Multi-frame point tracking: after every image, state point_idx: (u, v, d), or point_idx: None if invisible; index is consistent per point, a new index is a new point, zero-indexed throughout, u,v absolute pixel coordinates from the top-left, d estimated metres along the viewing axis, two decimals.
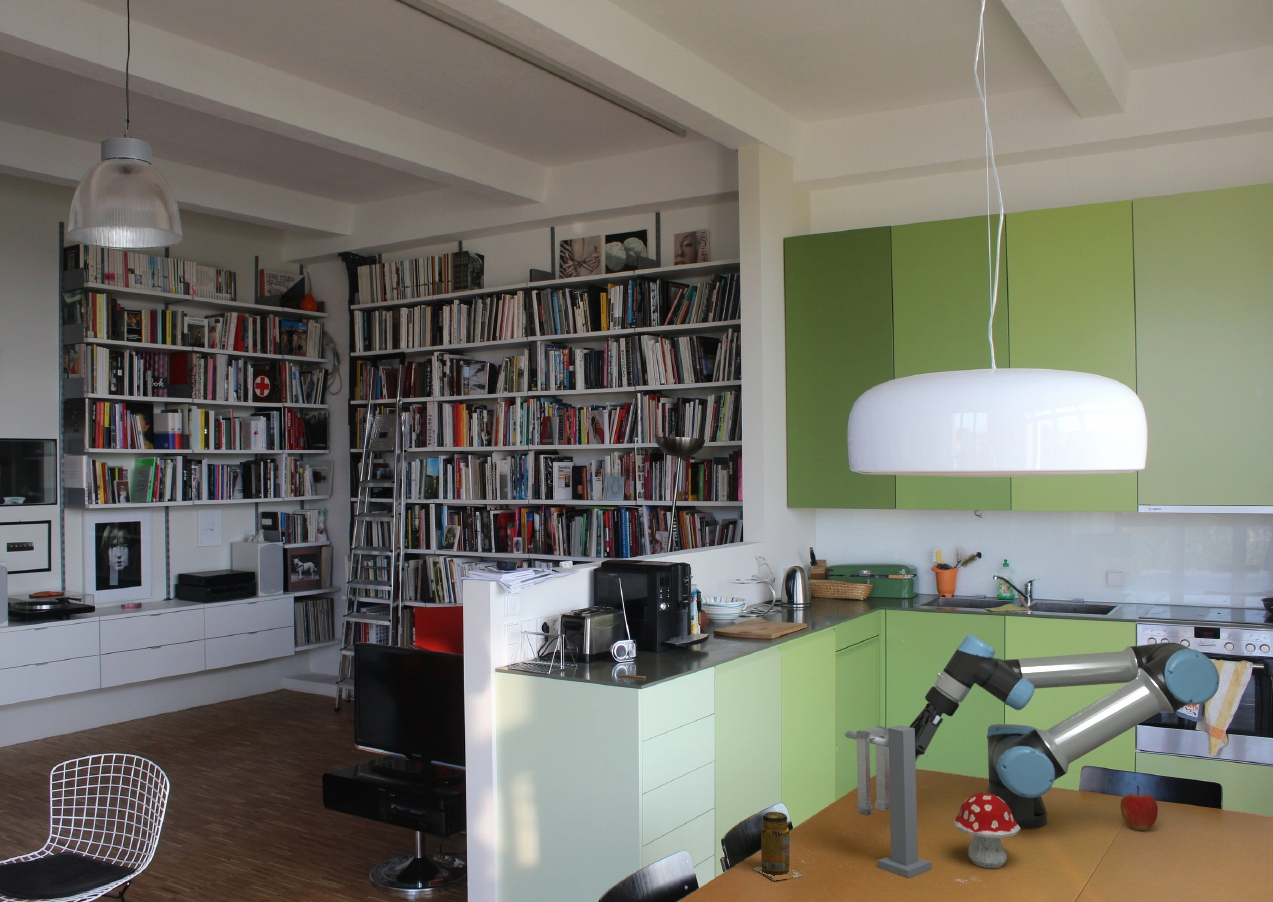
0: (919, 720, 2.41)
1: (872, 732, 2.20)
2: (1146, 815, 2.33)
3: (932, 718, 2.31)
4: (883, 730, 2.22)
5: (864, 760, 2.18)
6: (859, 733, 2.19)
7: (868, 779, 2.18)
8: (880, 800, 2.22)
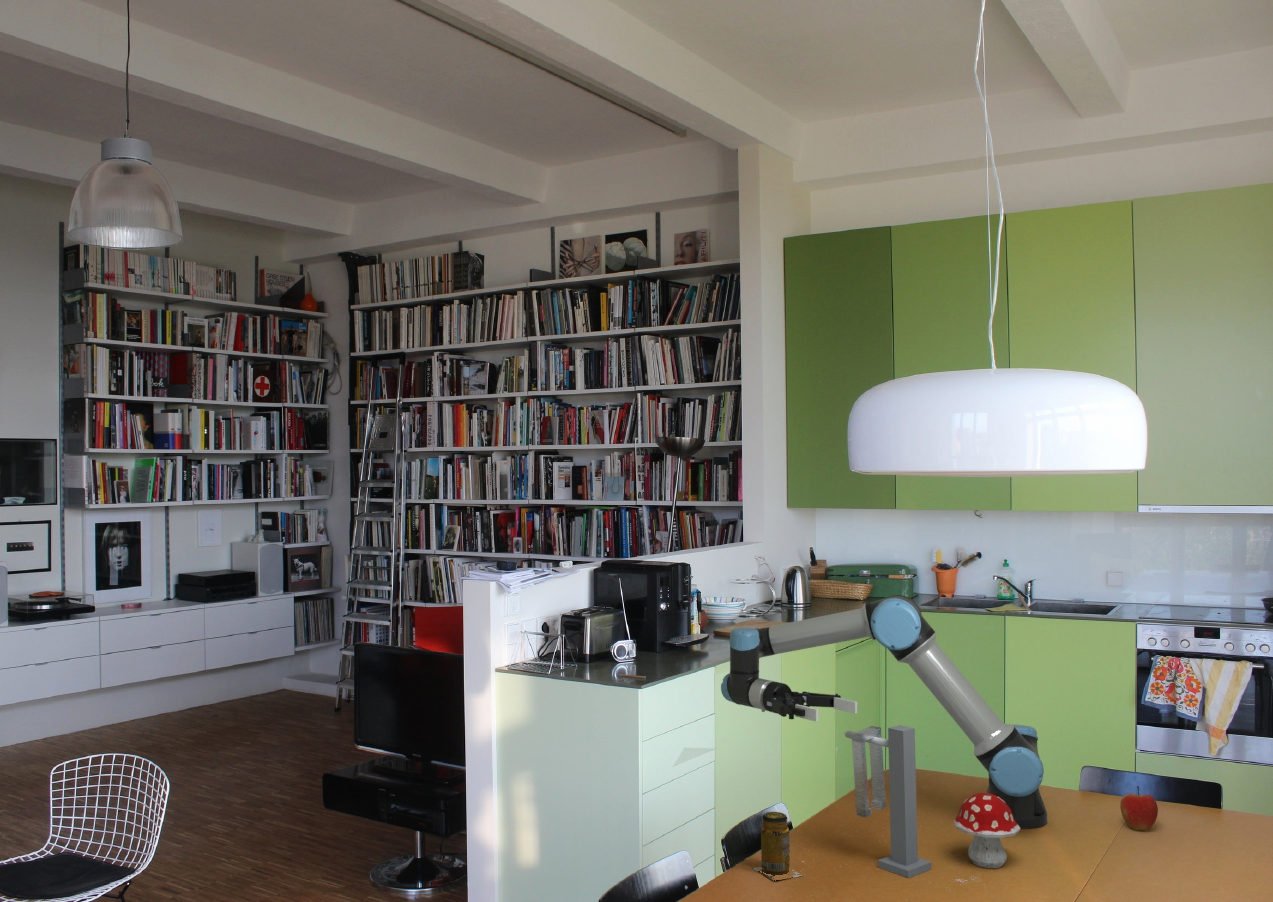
0: (807, 706, 2.41)
1: (867, 734, 2.19)
2: (1146, 815, 2.33)
3: (769, 707, 2.38)
4: (877, 730, 2.21)
5: (861, 763, 2.17)
6: (854, 736, 2.18)
7: (865, 781, 2.18)
8: (876, 799, 2.22)
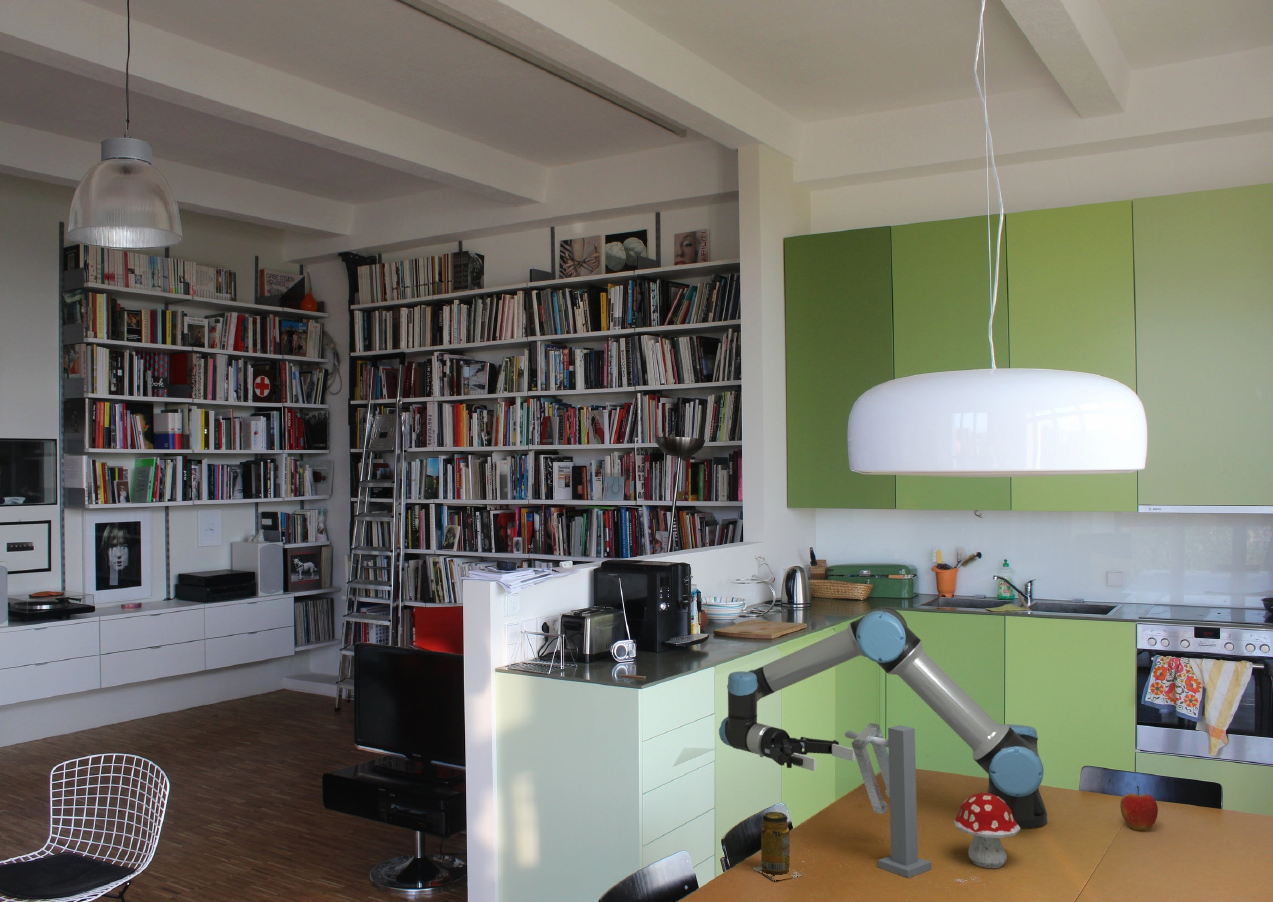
0: (805, 752, 2.41)
1: (866, 738, 2.19)
2: (1146, 815, 2.33)
3: (767, 754, 2.37)
4: (875, 729, 2.21)
5: (866, 768, 2.18)
6: (855, 744, 2.18)
7: (875, 782, 2.19)
8: None
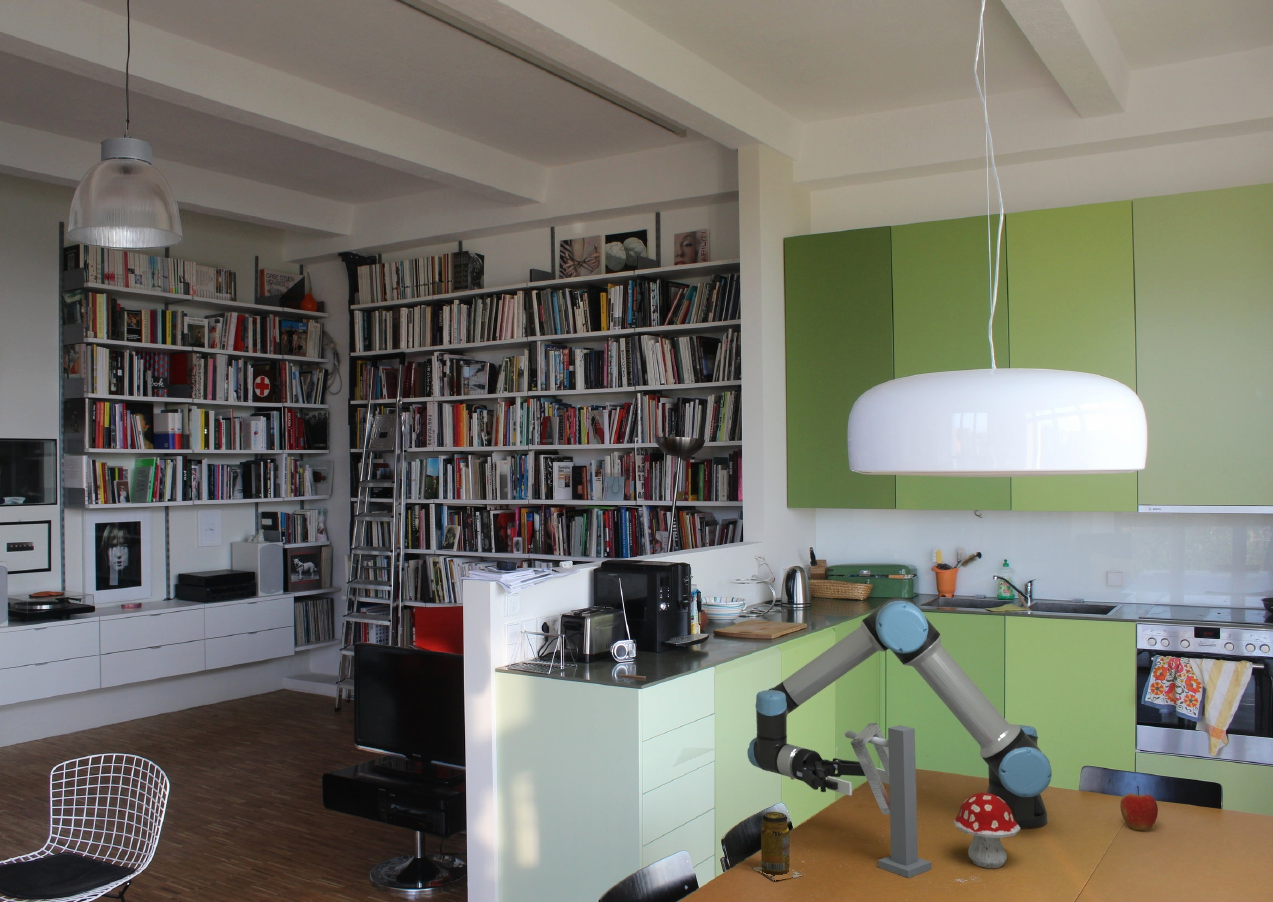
0: (838, 775, 2.32)
1: (865, 736, 2.19)
2: (1146, 815, 2.33)
3: (799, 778, 2.29)
4: (874, 728, 2.21)
5: (868, 766, 2.18)
6: (854, 743, 2.18)
7: (879, 781, 2.18)
8: None
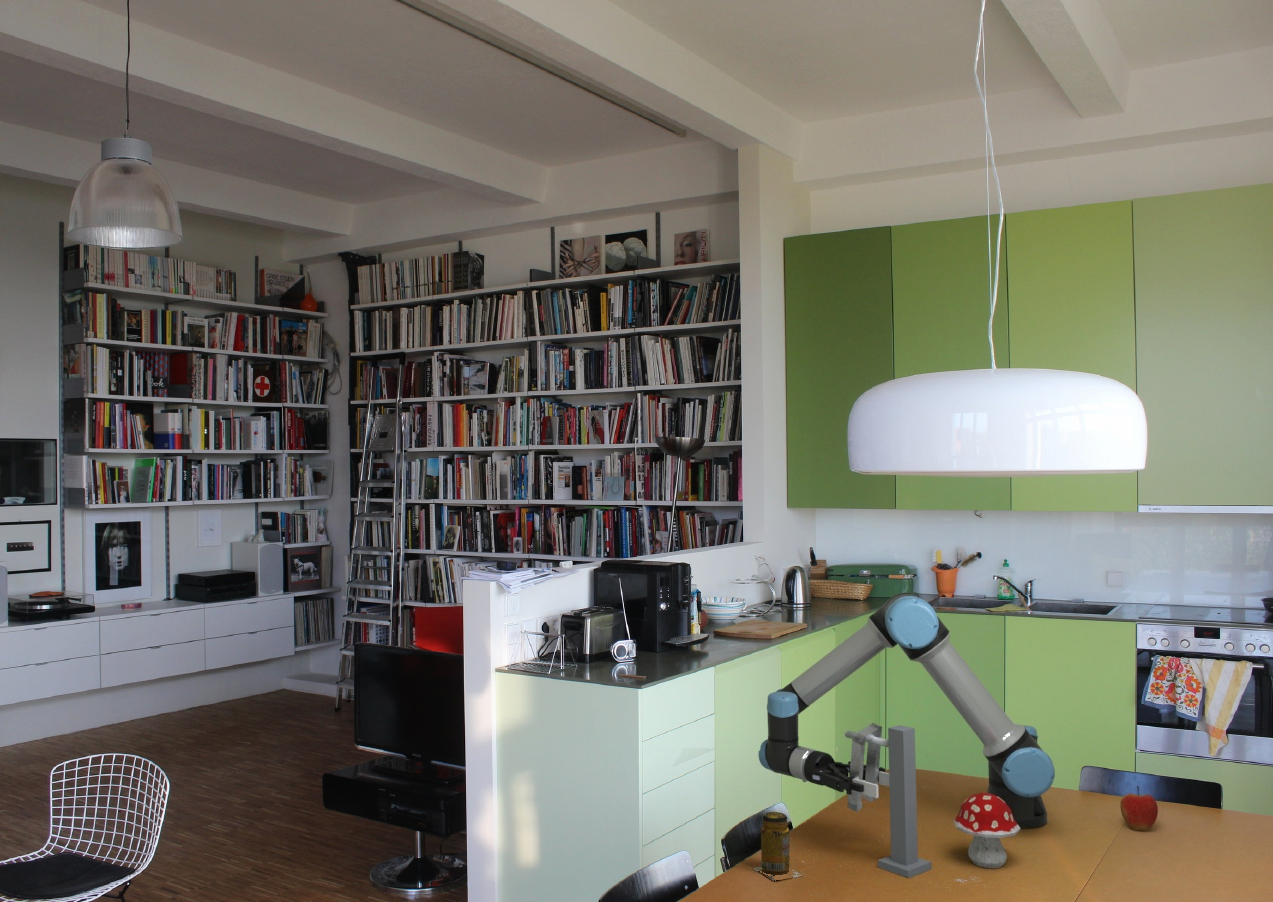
0: None
1: (868, 735, 2.19)
2: (1146, 815, 2.33)
3: (816, 781, 2.25)
4: (878, 730, 2.21)
5: (858, 763, 2.18)
6: (855, 737, 2.18)
7: (860, 779, 2.20)
8: None
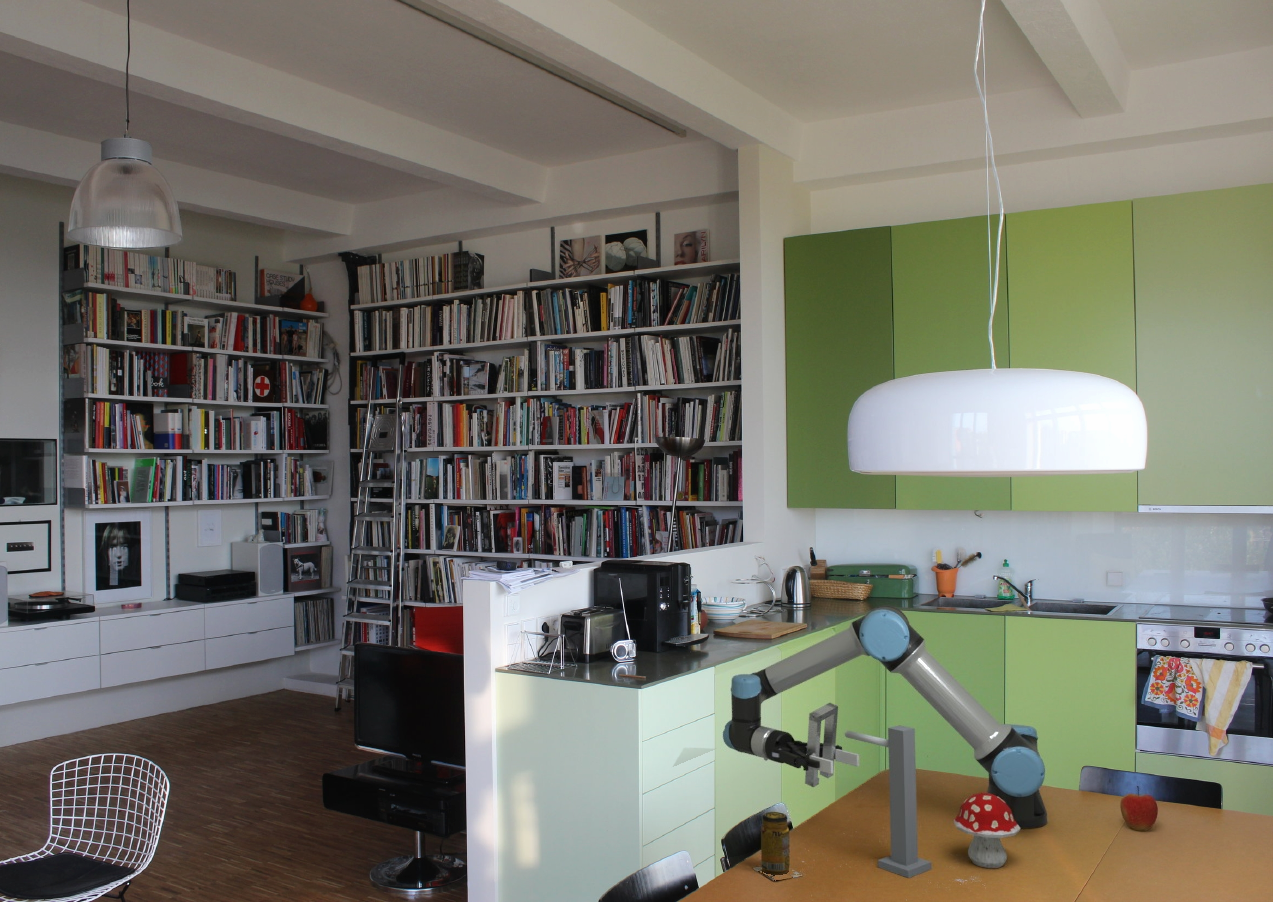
0: None
1: (824, 714, 2.28)
2: (1146, 815, 2.33)
3: (775, 758, 2.35)
4: (834, 709, 2.31)
5: (815, 740, 2.28)
6: (812, 716, 2.27)
7: (817, 756, 2.29)
8: None
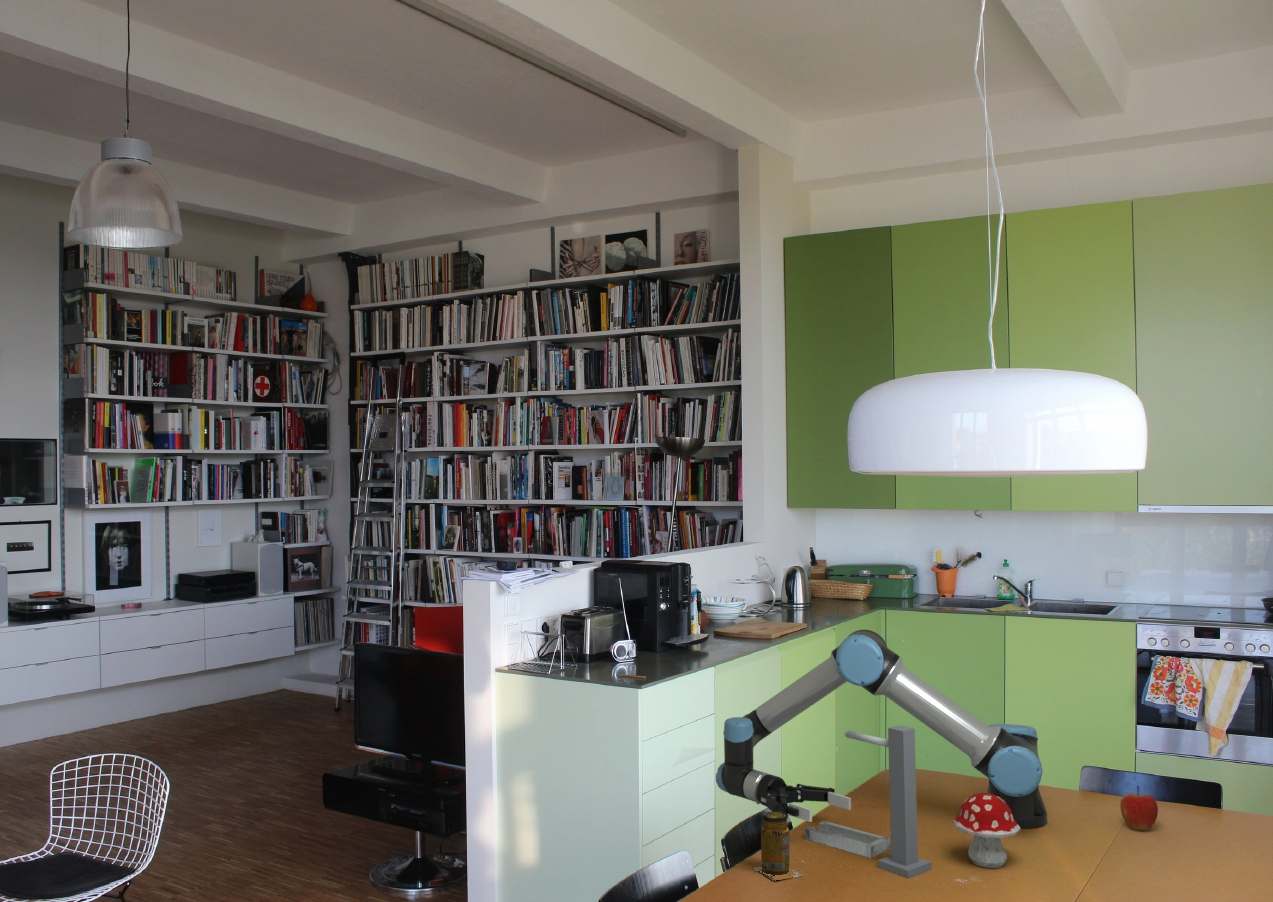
0: (801, 800, 2.42)
1: None
2: (1146, 815, 2.33)
3: (763, 803, 2.38)
4: None
5: (847, 849, 2.24)
6: (869, 850, 2.20)
7: None
8: (826, 827, 2.36)
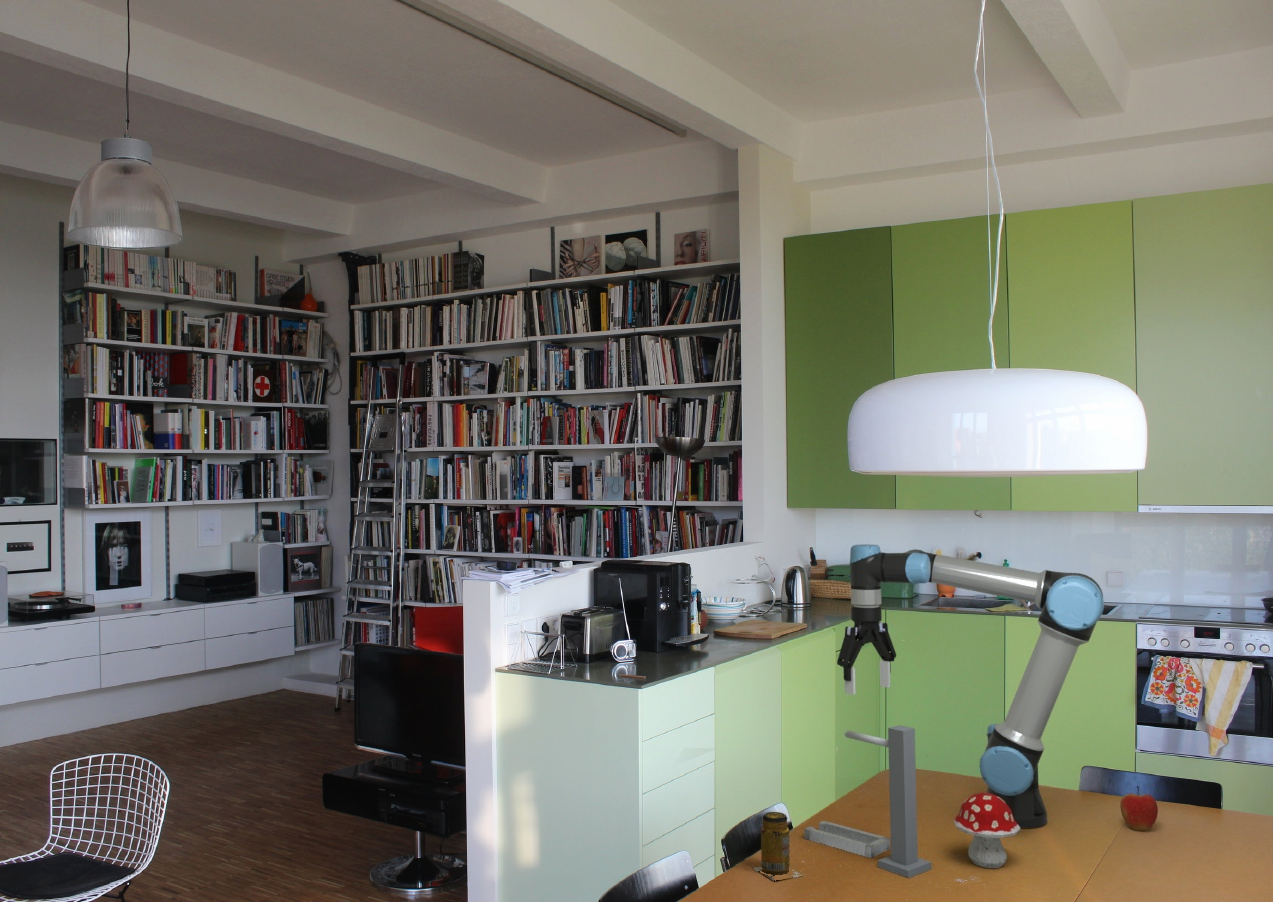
0: None
1: None
2: (1146, 815, 2.33)
3: (845, 631, 2.46)
4: None
5: (847, 849, 2.24)
6: (869, 850, 2.20)
7: None
8: (826, 827, 2.36)
